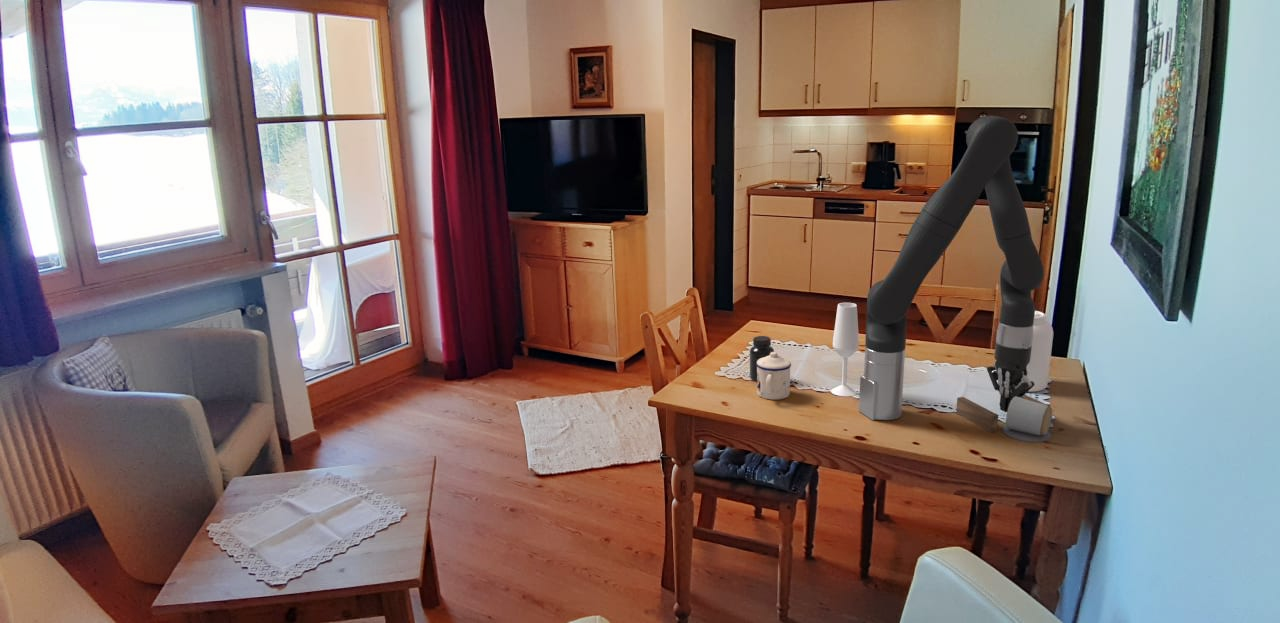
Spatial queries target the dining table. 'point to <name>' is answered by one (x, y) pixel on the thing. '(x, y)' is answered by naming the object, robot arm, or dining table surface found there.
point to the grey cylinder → (1028, 416)
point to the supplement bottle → (759, 353)
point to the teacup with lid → (773, 377)
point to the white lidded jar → (1040, 352)
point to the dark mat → (1025, 435)
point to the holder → (981, 413)
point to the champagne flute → (845, 342)
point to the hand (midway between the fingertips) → (1005, 410)
